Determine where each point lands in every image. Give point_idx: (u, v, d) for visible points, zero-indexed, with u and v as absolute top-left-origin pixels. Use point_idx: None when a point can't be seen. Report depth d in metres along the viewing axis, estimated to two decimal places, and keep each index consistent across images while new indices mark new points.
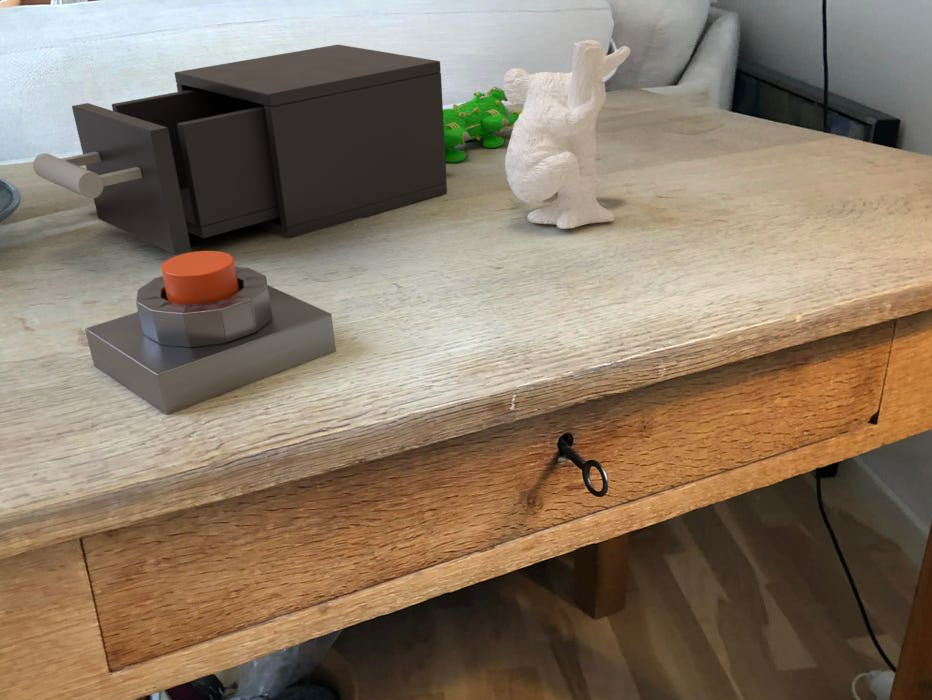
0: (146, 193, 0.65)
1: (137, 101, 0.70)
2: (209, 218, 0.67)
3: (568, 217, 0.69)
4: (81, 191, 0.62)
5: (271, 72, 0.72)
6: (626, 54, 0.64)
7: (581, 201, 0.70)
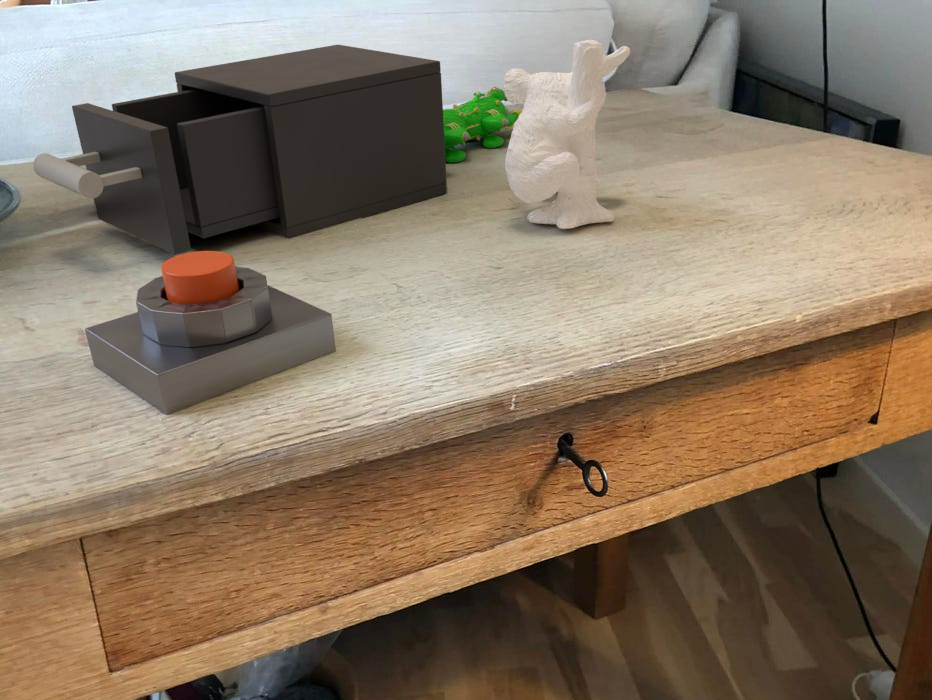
0: (146, 193, 0.65)
1: (137, 101, 0.70)
2: (209, 218, 0.67)
3: (568, 217, 0.69)
4: (81, 191, 0.62)
5: (271, 72, 0.72)
6: (626, 54, 0.64)
7: (581, 201, 0.70)
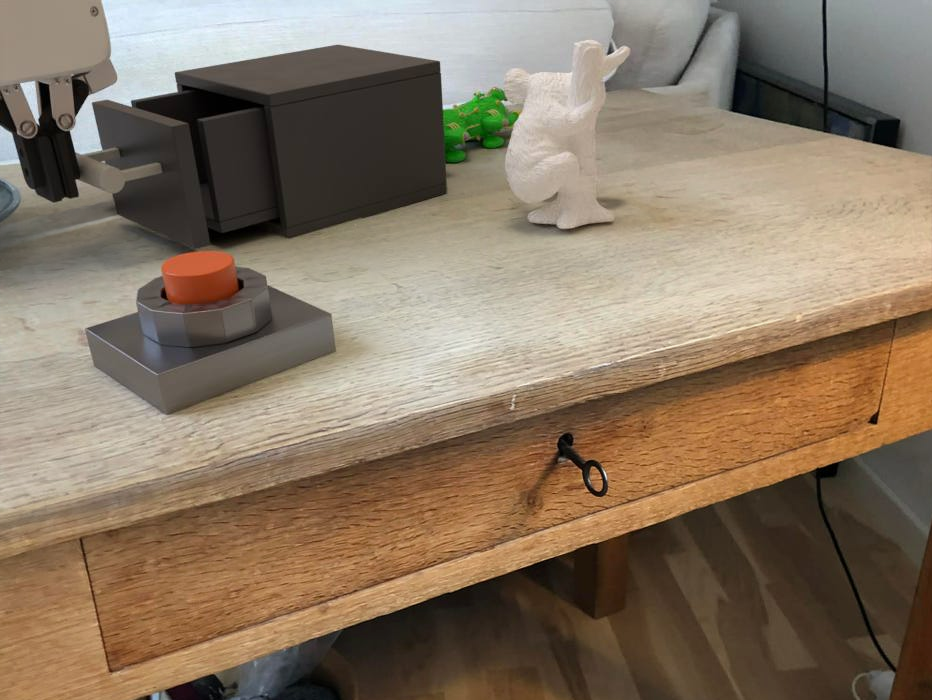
0: (166, 188, 0.66)
1: (156, 98, 0.71)
2: (228, 213, 0.68)
3: (568, 217, 0.69)
4: (103, 186, 0.63)
5: (271, 72, 0.72)
6: (626, 54, 0.64)
7: (581, 201, 0.70)
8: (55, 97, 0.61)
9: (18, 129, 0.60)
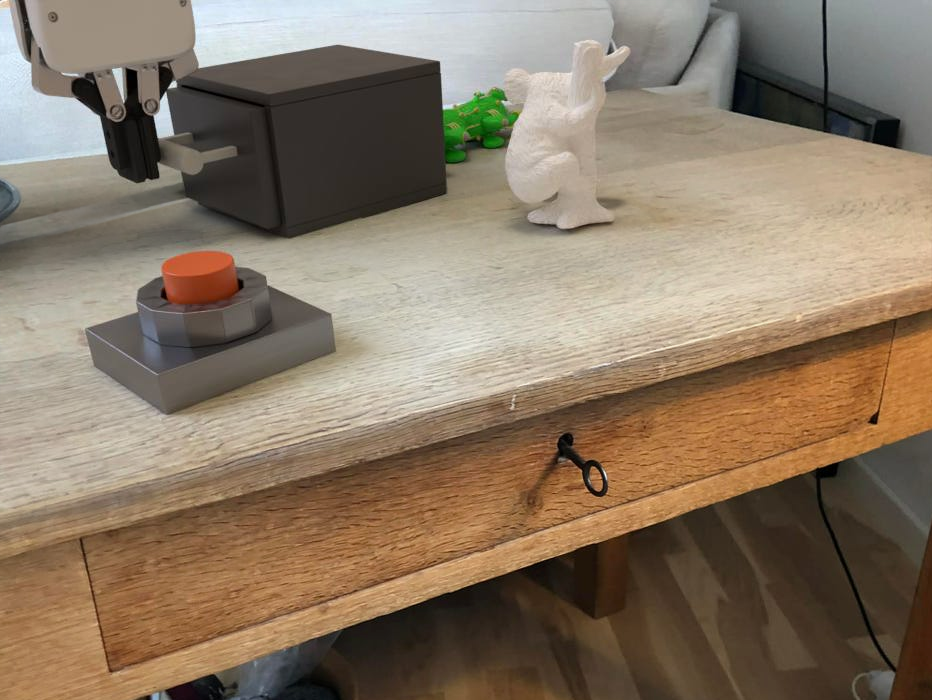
0: (240, 170, 0.69)
1: None
2: None
3: (568, 217, 0.69)
4: (184, 167, 0.66)
5: (271, 72, 0.72)
6: (626, 54, 0.64)
7: (581, 201, 0.70)
8: (142, 83, 0.64)
9: (108, 112, 0.64)
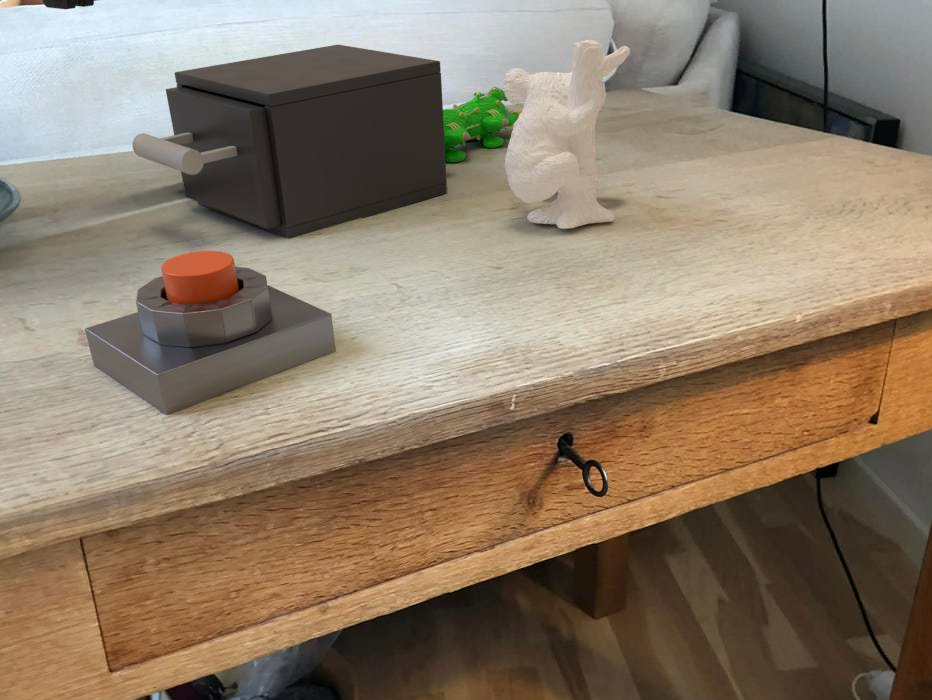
0: (240, 170, 0.69)
1: None
2: None
3: (568, 217, 0.69)
4: (184, 167, 0.66)
5: (271, 72, 0.72)
6: (626, 54, 0.64)
7: (581, 201, 0.70)
8: None
9: None
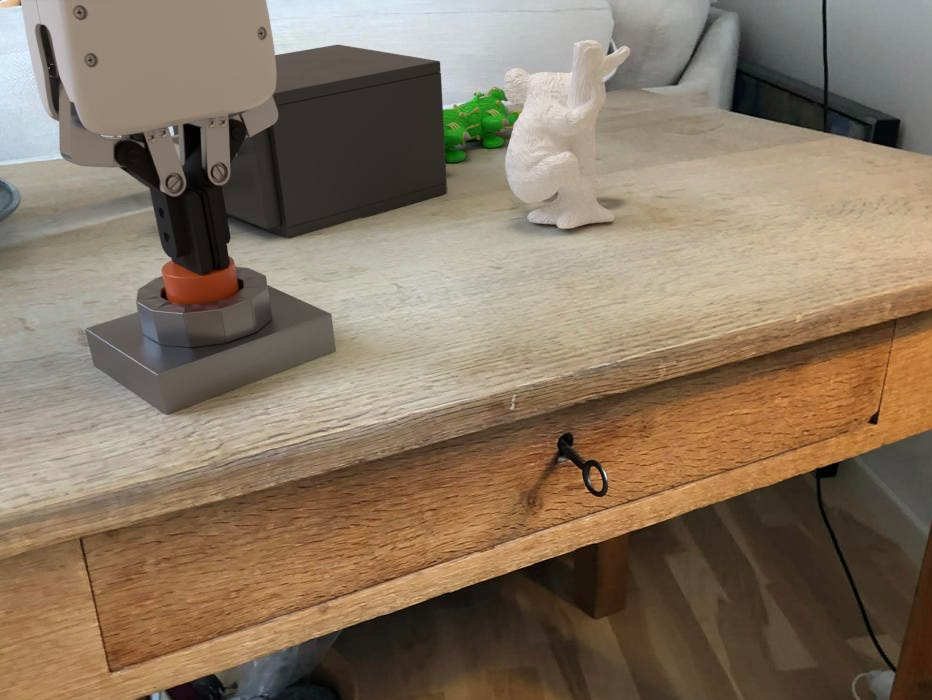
0: (240, 170, 0.69)
1: None
2: None
3: (568, 217, 0.69)
4: None
5: None
6: (626, 54, 0.64)
7: (581, 201, 0.70)
8: (208, 143, 0.48)
9: (163, 185, 0.47)
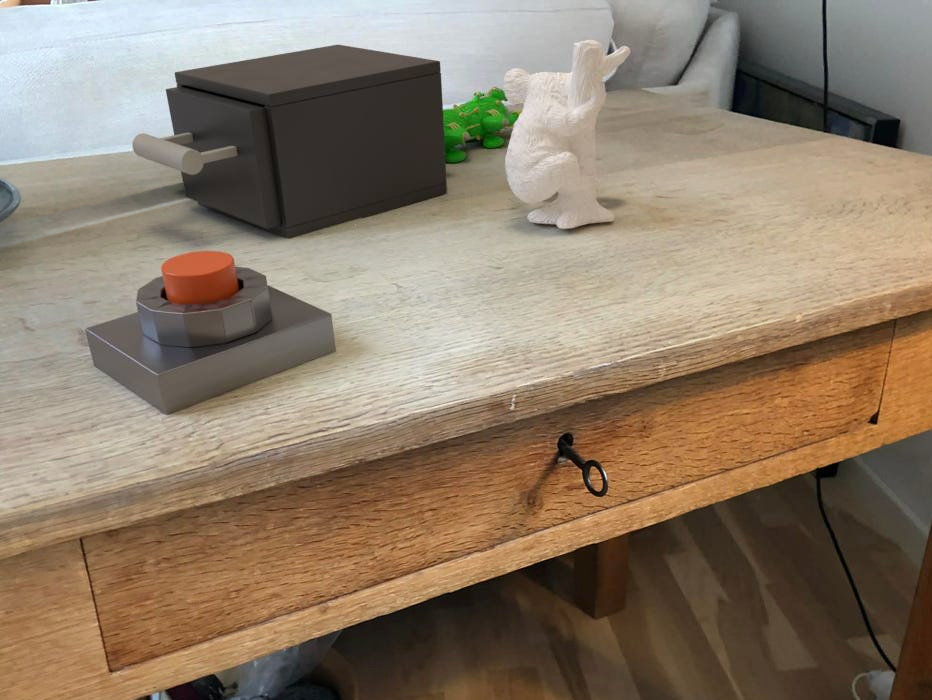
0: (240, 170, 0.69)
1: None
2: None
3: (568, 217, 0.69)
4: (184, 167, 0.66)
5: (271, 72, 0.72)
6: (626, 54, 0.64)
7: (581, 201, 0.70)
8: None
9: None
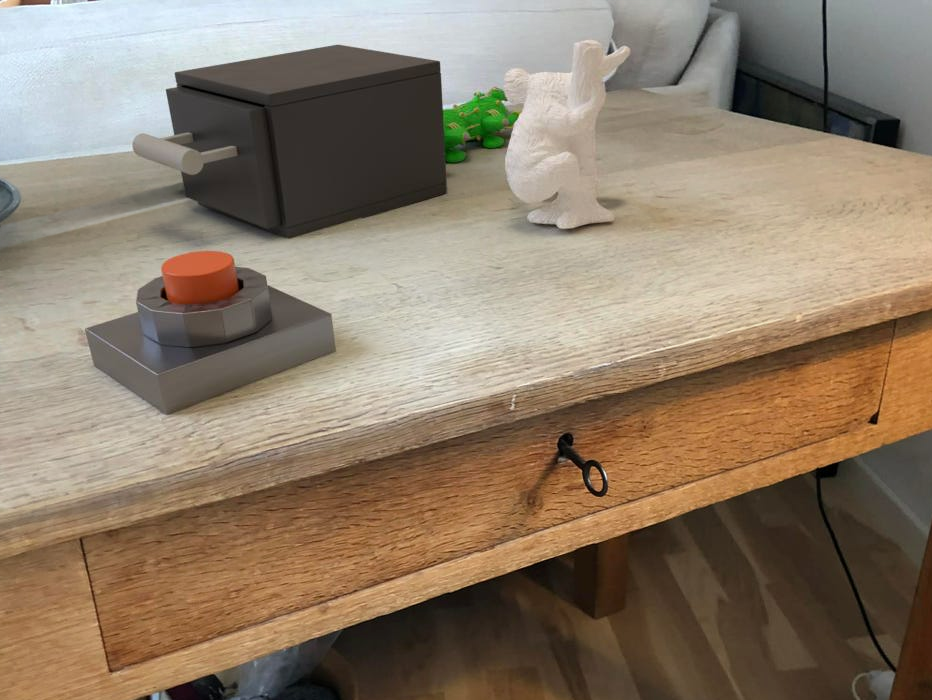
0: (240, 170, 0.69)
1: None
2: None
3: (568, 217, 0.69)
4: (184, 167, 0.66)
5: (271, 72, 0.72)
6: (626, 54, 0.64)
7: (581, 201, 0.70)
8: None
9: None
